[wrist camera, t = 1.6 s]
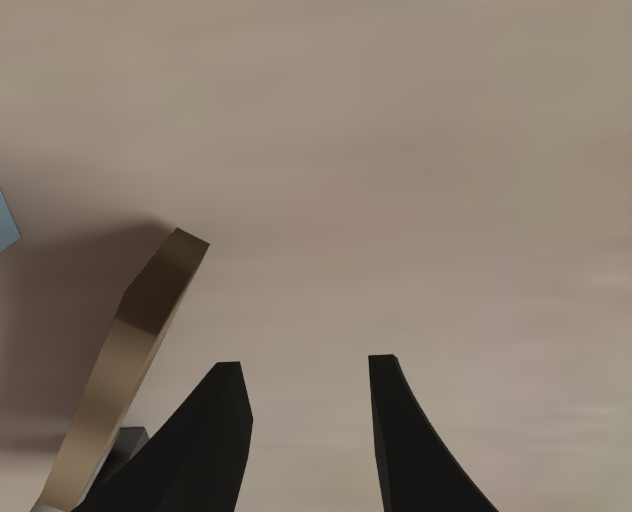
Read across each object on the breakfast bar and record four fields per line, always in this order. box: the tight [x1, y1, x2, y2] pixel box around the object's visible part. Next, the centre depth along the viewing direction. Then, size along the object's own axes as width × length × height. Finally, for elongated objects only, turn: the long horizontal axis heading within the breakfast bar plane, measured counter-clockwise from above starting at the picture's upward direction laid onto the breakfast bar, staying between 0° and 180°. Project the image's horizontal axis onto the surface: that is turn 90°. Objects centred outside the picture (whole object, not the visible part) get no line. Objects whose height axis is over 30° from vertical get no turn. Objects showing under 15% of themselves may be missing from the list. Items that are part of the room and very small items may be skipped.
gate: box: [30, 228, 210, 512], centre depth 20 cm, size 14×2×5 cm, turn 151°
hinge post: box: [83, 428, 149, 501], centre depth 24 cm, size 2×3×7 cm
